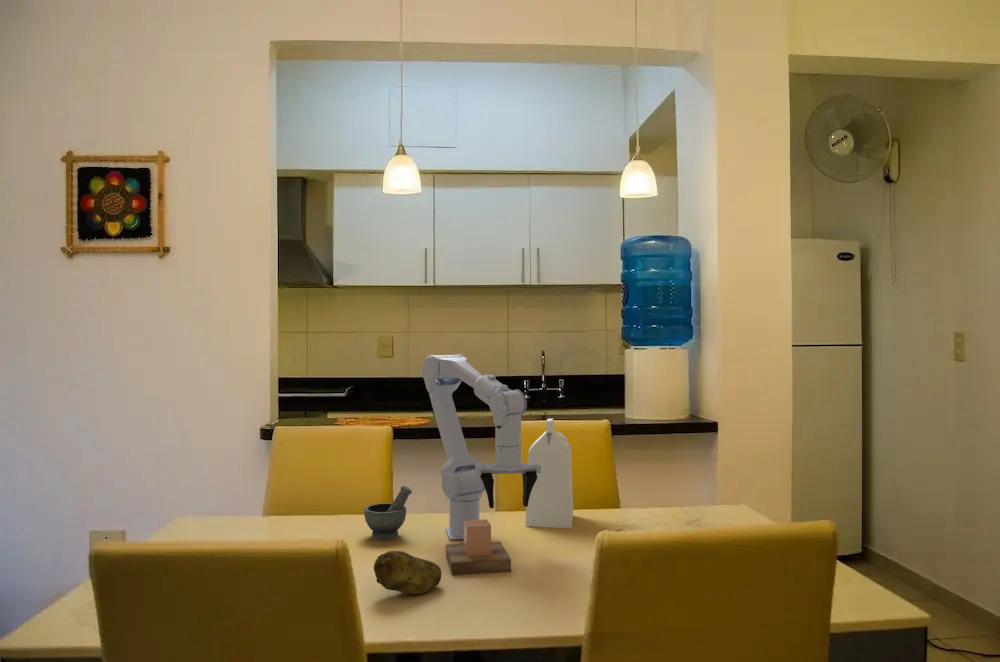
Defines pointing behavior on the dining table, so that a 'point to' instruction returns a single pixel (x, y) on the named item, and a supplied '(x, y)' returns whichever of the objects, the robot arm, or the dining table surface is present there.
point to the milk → (551, 481)
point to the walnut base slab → (477, 560)
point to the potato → (406, 573)
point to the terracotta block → (477, 537)
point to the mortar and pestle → (387, 516)
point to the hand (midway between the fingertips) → (508, 506)
